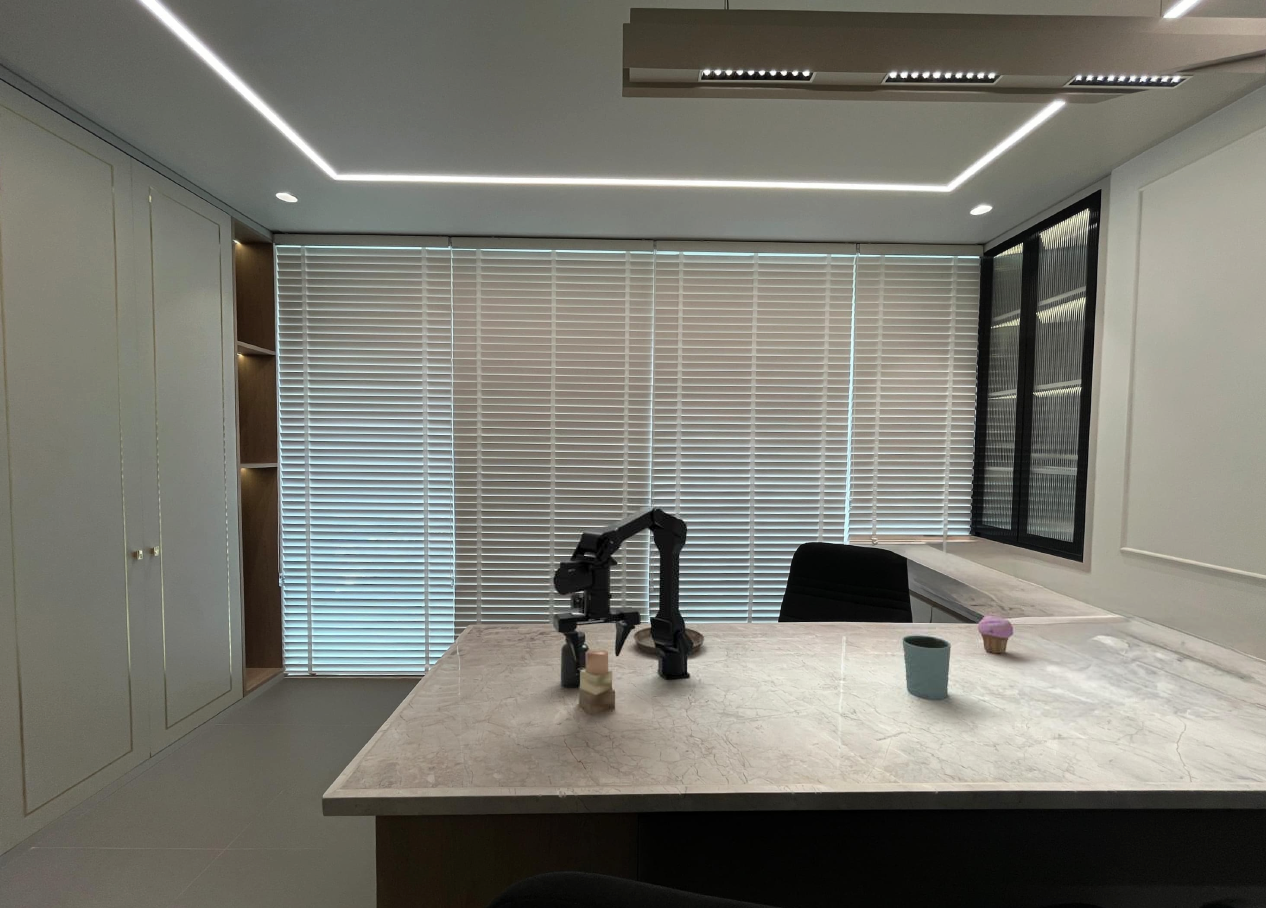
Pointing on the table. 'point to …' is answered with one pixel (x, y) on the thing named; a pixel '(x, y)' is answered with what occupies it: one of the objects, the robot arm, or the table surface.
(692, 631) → the plant saucer
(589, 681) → the oak block
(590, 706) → the walnut block
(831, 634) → the table surface
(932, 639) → the teal cup
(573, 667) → the supplement bottle
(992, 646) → the cupcake
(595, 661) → the peach cylinder
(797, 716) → the table surface
